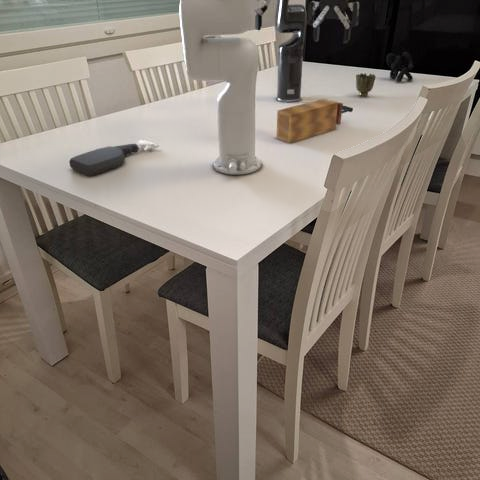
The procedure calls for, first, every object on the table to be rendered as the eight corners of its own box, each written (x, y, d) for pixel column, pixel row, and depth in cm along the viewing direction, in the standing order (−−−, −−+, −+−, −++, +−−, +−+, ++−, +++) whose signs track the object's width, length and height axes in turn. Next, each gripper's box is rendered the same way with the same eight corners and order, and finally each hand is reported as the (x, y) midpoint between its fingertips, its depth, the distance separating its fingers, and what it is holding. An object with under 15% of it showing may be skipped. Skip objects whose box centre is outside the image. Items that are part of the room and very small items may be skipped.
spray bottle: (67, 168, 120) (139, 144, 136) (91, 178, 114) (163, 151, 130) (65, 157, 118) (137, 134, 134) (89, 167, 112) (162, 142, 128)
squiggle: (400, 92, 202) (376, 71, 205) (417, 76, 202) (392, 56, 205) (405, 81, 191) (380, 59, 194) (423, 64, 191) (397, 42, 194)
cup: (351, 97, 177) (353, 76, 172) (356, 92, 182) (358, 72, 178) (370, 99, 174) (373, 77, 169) (374, 94, 179) (377, 73, 175)
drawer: (341, 117, 152) (343, 97, 148) (352, 120, 149) (354, 100, 145) (288, 132, 139) (288, 111, 136) (299, 136, 136) (300, 114, 132)
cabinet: (321, 124, 148) (323, 98, 144) (335, 129, 144) (338, 102, 140) (276, 138, 138) (277, 110, 133) (290, 143, 134) (291, 114, 129)
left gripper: (216, -33, 125) (219, 33, 134) (274, -35, 129) (273, 30, 138) (210, -34, 131) (213, 30, 140) (266, -35, 135) (265, 27, 144)
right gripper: (365, -24, 121) (357, 41, 130) (315, -24, 126) (311, 38, 135) (359, -22, 116) (351, 45, 124) (306, -22, 121) (303, 42, 130)
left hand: (243, 30), depth 139 cm, fingers open, 9 cm apart
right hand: (330, 42), depth 130 cm, fingers open, 8 cm apart
